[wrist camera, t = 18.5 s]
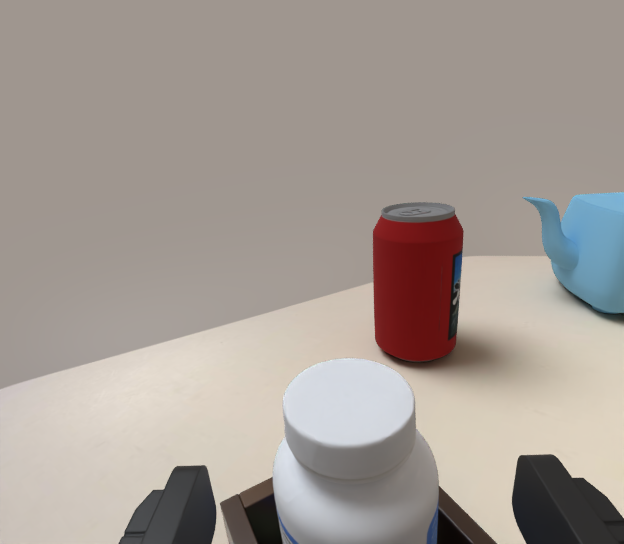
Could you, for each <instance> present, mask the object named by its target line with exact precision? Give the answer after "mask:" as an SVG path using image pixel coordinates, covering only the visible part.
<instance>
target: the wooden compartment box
mask: <svg viewBox="0 0 624 544" xmlns="http://www.w3.org/2000/svg"><path fill="white" fill-rule="evenodd" d="M220 506H221V510H222V515H223V519H224V524H225V528H226V533H227V537H228V542H229V544H283V542H282V536H281V531H280V525H279V520H278V514H277V509H276V502H275V496H274V489H273V477H272V478H270V479H268V480H266V481H264V482H262V483H260V484H257V485H255V486H253V487H251V488H249V489H247V490H245V491H243V492H241V493H240V494H239V495H238V494H237V495H235V496H233V497H231V498H229V499H227V500H225V501H223V502H221V503H220ZM437 544H497V543H496V542H495V541H494V540H493V539H492V538H491V537H490V536H489V535H488V534H487V533H486V532H485V531H484V530H483V529H482V528H481V527H480V526H479V525H478V524H477V523H476V522H475V521H474V520H473V519H472V518H471V517H470V516H469V515H468V514H467V513H466V512H465V511H464V510H463V509H462V508H461V507H460V506H459V505H458V504H457V503H456V502H455V501H454V500H453V499H452V498H451V497H450V496H449V495H448V494H447V493H446V492H445V491H444V490H443V489H442V488H441V487H440V486H439V502H438V525H437Z"/></svg>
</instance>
